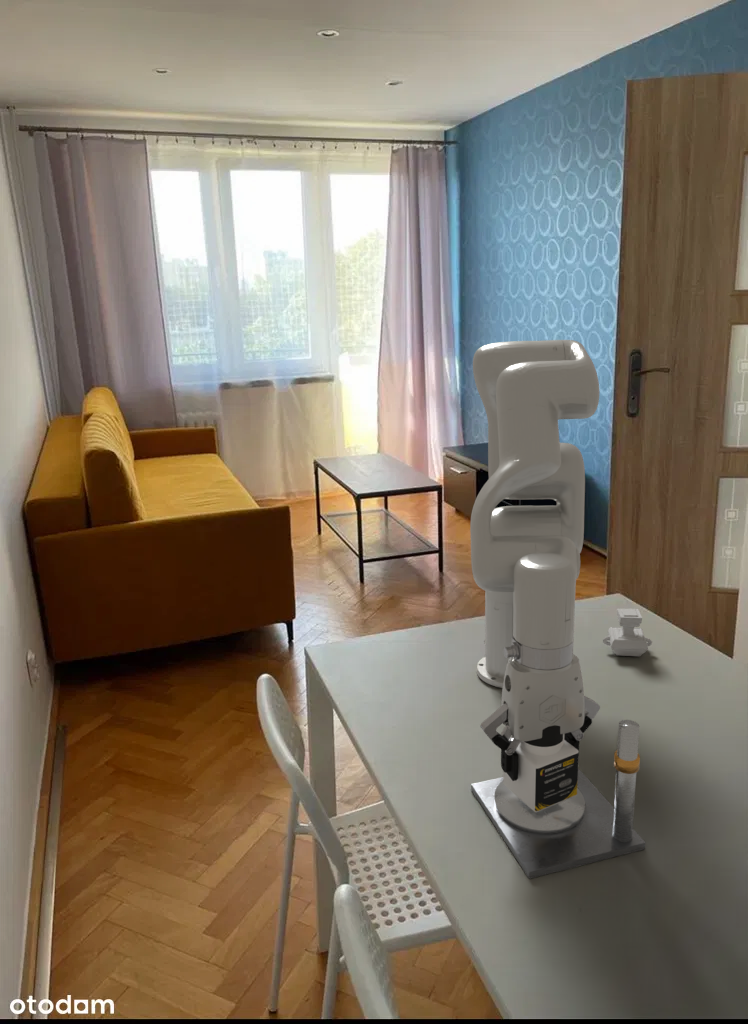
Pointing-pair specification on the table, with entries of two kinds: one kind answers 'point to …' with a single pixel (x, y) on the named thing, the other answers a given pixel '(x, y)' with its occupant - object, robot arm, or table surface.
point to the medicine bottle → (545, 770)
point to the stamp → (628, 634)
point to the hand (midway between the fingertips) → (539, 767)
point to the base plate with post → (570, 817)
